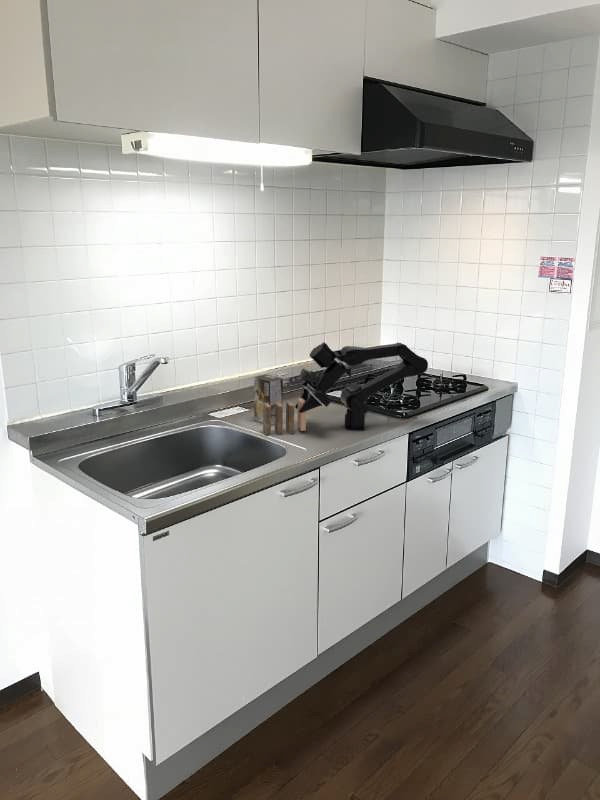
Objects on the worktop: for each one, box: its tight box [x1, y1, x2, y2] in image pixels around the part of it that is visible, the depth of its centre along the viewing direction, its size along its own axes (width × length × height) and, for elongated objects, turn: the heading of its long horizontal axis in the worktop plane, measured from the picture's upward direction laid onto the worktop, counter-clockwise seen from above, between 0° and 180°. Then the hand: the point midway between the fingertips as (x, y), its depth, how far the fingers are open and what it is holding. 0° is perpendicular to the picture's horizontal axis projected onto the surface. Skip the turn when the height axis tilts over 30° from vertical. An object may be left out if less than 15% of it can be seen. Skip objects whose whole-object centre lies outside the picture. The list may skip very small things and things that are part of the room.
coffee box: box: [253, 374, 284, 426], centre depth 233 cm, size 9×6×16 cm
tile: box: [296, 397, 307, 432], centre depth 223 cm, size 2×5×10 cm, turn 14°
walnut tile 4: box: [262, 403, 272, 437], centre depth 220 cm, size 2×5×10 cm, turn 14°
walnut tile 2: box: [285, 401, 295, 435], centre depth 222 cm, size 2×5×10 cm, turn 14°
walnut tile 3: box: [274, 402, 284, 436], centre depth 221 cm, size 2×5×10 cm, turn 14°
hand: (297, 410), depth 222 cm, fingers closed on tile, 5 cm apart
